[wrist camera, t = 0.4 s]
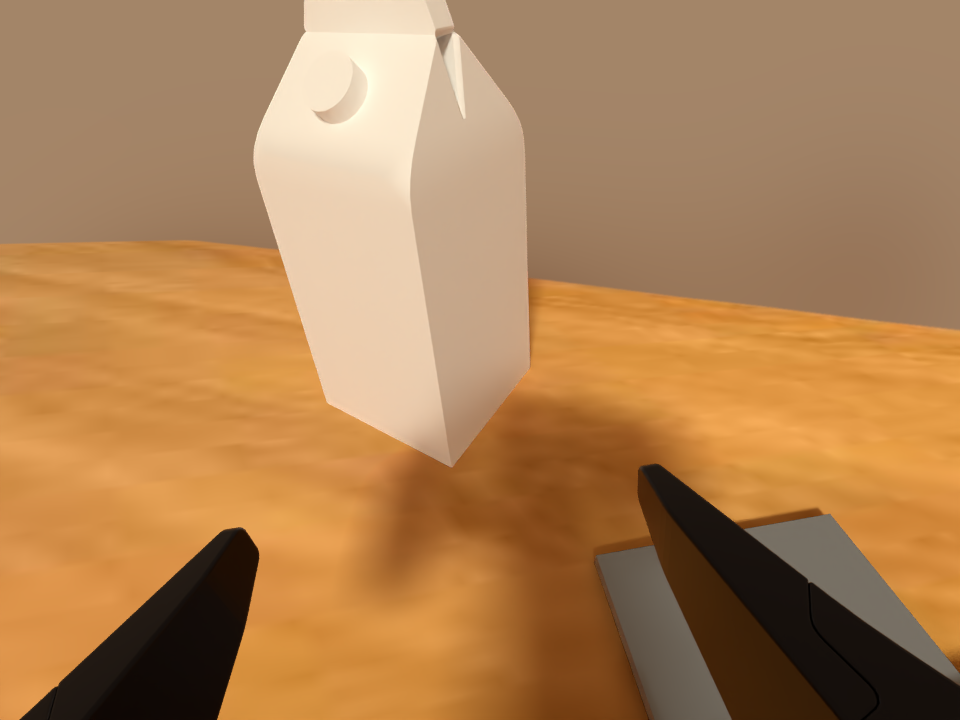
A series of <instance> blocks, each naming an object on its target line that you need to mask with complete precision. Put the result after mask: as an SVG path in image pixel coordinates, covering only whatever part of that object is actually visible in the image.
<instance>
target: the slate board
mask: <svg viewBox="0 0 960 720" xmlns="http://www.w3.org/2000/svg"><path fill="white" fill-rule="evenodd" d="M744 530H745V531H746V532H748V533H749V534H750V535H752V536H753V537H754V538H756V539H757V540H758V541H759V542H761V543H762V544H763V545H765V546H766V547H767V548H769V549H770V550H771V551H772V552H774V553H775V554H776V555H778V556H779V557H780V558H781V559H783V560H784V561H785V562H787V563H788V564H789V565H791V566H792V567H793V568H794V569H796V570H797V571H798V572H800V573H801V574H802V575H804V576H805V577H806V578H807V579H808V582H813V583H814V584H815V585H817V586H818V587H819V588H821V589H822V590H823V591H825V592H826V593H827V594H828V595H830V596H831V597H832V598H834V599H835V600H836V601H838V602H839V603H840V604H842V605H843V606H845V607H846V608H847V609H849V610H850V611H851V612H853V613H854V614H855V615H857V616H858V617H859V618H861V619H862V620H863V621H865V622H866V623H868V624H869V625H871V626H872V627H874V628H875V629H876V630H878V631H879V632H881V633H882V634H884V635H885V636H887V637H888V638H890V639H891V640H892V641H894V642H895V643H897V644H898V645H900V646H901V647H903V648H904V649H906V650H907V651H909V652H910V653H912V654H913V655H915V656H916V657H918V658H919V659H921V660H922V661H924V662H925V663H927V664H928V665H930V666H931V667H933V668H934V669H936V670H937V671H939V672H940V673H942V674H943V675H945V676H946V677H948V678H949V679H951V680H952V681H954V682H955V683H957V684H958V685H960V673H959V672H958V671H957V670H956V668H955V667H954V666H953V665H952V663H951V662H950V661H949V660H948V658H947V657H946V656H945V655H944V654H943V652H942V651H941V650H940V649H939V647H938V646H937V645H936V644H935V642H934V641H933V640H932V639H931V638H930V636H929V635H928V634H927V633H926V631H925V630H924V629H923V628H922V626H921V625H920V624H919V623H918V622H917V620H916V619H915V618H914V617H913V615H912V614H911V613H910V612H909V610H908V609H907V608H906V607H905V606H904V604H903V603H902V602H901V601H900V599H899V598H898V597H897V596H896V594H895V593H894V592H893V591H892V590H891V588H890V587H889V586H888V585H887V583H886V582H885V581H884V580H883V579H882V577H881V576H880V575H879V574H878V572H877V571H876V570H875V569H874V567H873V566H872V565H871V564H870V563H869V561H868V560H867V559H866V558H865V556H864V555H863V554H862V553H861V551H860V550H859V549H858V548H857V547H856V545H855V544H854V543H853V542H852V540H851V539H850V538H849V537H848V535H847V534H846V533H845V532H844V531H843V529H842V528H841V527H840V526H839V524H838V523H837V522H836V521H835V519H834V518H833V517H832V516H831V515H830V514H827V515H821V516H815V517H810V518H804V519H799V520H793V521H787V522H782V523H776V524H770V525H765V526H759V527H753V528H748V529H744ZM594 563H595V566H596V568H597V571H598V574H599V577H600V580H601V583H602V586H603V588H604V591H605V594H606V597H607V600H608V603H609V606H610V609H611V611H612V614H613V617H614V620H615V623H616V626H617V629H618V632H619V634H620V637H621V640H622V643H623V646H624V649H625V652H626V654H627V657H628V660H629V663H630V666H631V669H632V672H633V675H634V677H635V680H636V683H637V686H638V689H639V692H640V695H641V698H642V700H643V703H644V706H645V709H646V712H647V715H648V718H649V720H732V719H731V717H730V715H729V713H728V711H727V708H726V706H725V704H724V702H723V700H722V698H721V696H720V693H719V691H718V689H717V687H716V685H715V683H714V680H713V678H712V676H711V674H710V672H709V670H708V667H707V665H706V663H705V661H704V659H703V657H702V655H701V652H700V650H699V648H698V646H697V644H696V642H695V639H694V637H693V635H692V633H691V631H690V629H689V626H688V624H687V622H686V620H685V618H684V616H683V614H682V611H681V609H680V607H679V605H678V603H677V601H676V598H675V596H674V594H673V592H672V590H671V588H670V585H669V583H668V581H667V579H666V577H665V574H664V572H663V570H662V567H661V564H660V561H659V559H658V556H657V553H656V550H655V547H654V545H652V546H646V547H640V548H635V549H629V550H624V551H618V552H612V553H607V554H601V555H596V557H595V561H594Z"/></svg>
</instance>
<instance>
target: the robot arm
mask: <svg viewBox="0 0 960 720" xmlns="http://www.w3.org/2000/svg"><path fill="white" fill-rule="evenodd" d="M638 498H639V502H640V505H641V508H642V511H643V514H644V517H645V520H646V523H647V526H648V529H649V532H650V535H651V538H652V541H653V544H654V547H655V550H656V553H657V556H658V559H659V561H660V564H661V567H662V570H663V572H664V574H665V577H666V579H667V581H668V583H669V585H670V588H671V590H672V592H673V594H674V596H675V598H676V601H677V603H678V605H679V607H680V609H681V611H682V614H683V616H684V618H685V620H686V622H687V624H688V626H689V629H690V631H691V633H692V635H693V637H694V639H695V642H696V644H697V646H698V648H699V650H700V652H701V655H702V657H703V659H704V661H705V663H706V665H707V667H708V670H709V672H710V674H711V676H712V678H713V680H714V683H715V685H716V687H717V689H718V691H719V693H720V696H721V698H722V700H723V702H724V704H725V706H726V708H727V711H728V713H729V715H730V717H731V719H732V720H960V685H958V684H957V683H955V682H954V681H952V680H951V679H949V678H948V677H946V676H945V675H943V674H942V673H940V672H939V671H937V670H936V669H934V668H933V667H931V666H930V665H928V664H927V663H925V662H924V661H922V660H921V659H919V658H918V657H916V656H915V655H913V654H912V653H910V652H909V651H907V650H906V649H904V648H903V647H901V646H900V645H898V644H897V643H895V642H894V641H892V640H891V639H890V638H888V637H887V636H885V635H884V634H882V633H881V632H879V631H878V630H876V629H875V628H874V627H872V626H871V625H869V624H868V623H866V622H865V621H863V620H862V619H861V618H859V617H858V616H857V615H855V614H854V613H853V612H851V611H850V610H849V609H847V608H846V607H845V606H843V605H842V604H840V603H839V602H838V601H836V600H835V599H834V598H832V597H831V596H830V595H828V594H827V593H826V592H825V591H823V590H822V589H821V588H819V587H818V586H817V585H815V584H814V583H813V582H808V579H807V578H806V577H805V576H804V575H802V574H801V573H800V572H798V571H797V570H796V569H794V568H793V567H792V566H791V565H789V564H788V563H787V562H785V561H784V560H783V559H781V558H780V557H779V556H778V555H776V554H775V553H774V552H772V551H771V550H770V549H769V548H767V547H766V546H765V545H763V544H762V543H761V542H759V541H758V540H757V539H756V538H754V537H753V536H752V535H750V534H749V533H748V532H746V531H745V530H744V529H743V528H741V527H740V526H739V525H737V524H736V523H735V522H733V521H732V520H731V519H730V518H728V517H727V516H726V515H724V514H723V513H722V512H721V511H719V510H718V509H717V508H715V507H714V506H713V505H711V504H710V503H709V502H708V501H706V500H705V499H704V498H702V497H701V496H700V495H698V494H697V493H696V492H695V491H693V490H692V489H691V488H689V487H688V486H687V485H685V484H684V483H683V482H682V481H680V480H679V479H678V478H676V477H675V476H674V475H673V474H671V473H670V472H669V471H667V470H666V469H665V468H663V467H662V466H661V465H659V464H650V465H643V466H640V467H639V470H638ZM258 562H259V551H258V548H257V547H256V545H255V544H254V542H253V541H252V539H251V538H250V536H249V535H248V533H247V532H246V530H245V529H243V528H241V527H238V528H232V529H226V530H223V531H222V532H220V533H219V534H218V535H217V536H216V537H215V538H214V539H213V540H212V541H211V542H209V543H208V544H207V545H206V546H205V547H204V548H203V549H202V550H201V551H200V552H199V553H198V554H197V555H196V556H194V557H193V558H192V559H191V560H190V561H189V562H188V563H187V564H186V565H185V566H184V567H183V568H182V569H181V570H180V571H178V572H177V573H176V574H175V575H174V576H173V577H172V578H171V579H170V580H169V581H168V582H167V583H166V584H165V585H163V586H162V587H161V588H160V589H159V590H158V591H157V592H156V593H155V594H154V595H153V596H152V597H151V598H150V599H149V600H147V601H146V602H145V603H144V604H143V605H142V606H141V607H140V608H139V609H138V610H137V611H136V612H135V613H134V614H132V615H131V616H130V617H129V618H128V619H127V620H126V621H125V622H124V623H123V624H122V625H121V626H120V627H119V628H118V629H116V630H115V631H114V632H113V633H112V634H111V635H110V636H109V637H108V638H107V639H106V640H105V641H104V642H103V643H101V644H100V645H99V646H98V647H97V648H96V649H95V650H94V651H93V652H92V653H91V654H90V655H89V656H88V657H86V658H85V659H84V660H83V661H82V662H81V663H80V664H79V665H78V666H77V667H76V668H75V669H74V670H73V671H72V672H70V673H69V674H68V675H67V676H66V677H65V678H64V679H63V680H62V681H61V682H60V683H59V685H58V686H57V687H54V688H53V689H52V690H51V691H50V692H49V693H48V694H47V695H46V696H45V697H44V698H43V699H41V700H40V701H39V702H38V703H37V704H36V705H35V706H34V707H33V708H32V709H31V710H30V711H29V712H27V713H26V714H25V715H24V716H23V717H22V718H21V719H20V720H217V718H218V715H219V712H220V709H221V705H222V702H223V699H224V695H225V692H226V689H227V686H228V682H229V679H230V676H231V673H232V669H233V666H234V663H235V659H236V656H237V653H238V650H239V646H240V643H241V640H242V636H243V633H244V629H245V625H246V621H247V616H248V611H249V607H250V602H251V597H252V592H253V587H254V582H255V577H256V572H257V567H258Z"/></svg>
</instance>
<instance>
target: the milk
mask: <svg viewBox="0 0 960 720" xmlns="http://www.w3.org/2000/svg"><path fill="white" fill-rule="evenodd" d="M304 28H305V30H306V33H305V34H304V35H303V36H302V37H301V40H300V42H299V44H298V46H297V48H296V50H295V52H294V54H293V57H292V59H291V61H290V63H289V65H288V67H287V69H286V71H285V73H284V76H283V78H282V80H281V82H280V84H279V86H278V89H277V90H276V93H275V95H274V97H273V99H272V101H271V103H270V106H269V108H268V110H267V112H266V114H265V116H264V118H263V121H262V123H261V126H260V129H259V131H258V133H257V138H256V142H255V146H254V167H255V172H256V177H257V181H258V184H259V187H260V190H261V193H262V197H263V200H264V203H265V206H266V209H267V213H268V215H269V219H270V222H271V225H272V228H273V232H274V235H275V238H276V241H277V244H278V248H279V251H280V254H281V257H282V260H283V264H284V267H285V270H286V273H287V276H288V280H289V283H290V286H291V289H292V292H293V296H294V299H295V302H296V305H297V308H298V311H299V315H300V318H301V321H302V324H303V327H304V331H305V334H306V337H307V340H308V343H309V347H310V350H311V353H312V356H313V359H314V363H315V366H316V369H317V372H318V375H319V378H320V382H321V385H322V388H323V391H324V394H325V398H326V401H327V403H328V404H330V405H332V406H334V407H336V408H338V409H340V410H342V411H344V412H346V413H348V414H349V415H351V416H353V417H355V418H357V419H359V420H361V421H363V422H365V423H367V424H369V425H371V426H372V427H374V428H376V429H378V430H380V431H382V432H384V433H386V434H388V435H390V436H392V437H394V438H395V439H397V440H399V441H401V442H403V443H405V444H407V445H409V446H411V447H413V448H415V449H416V450H418V451H420V452H422V453H424V454H426V455H428V456H430V457H432V458H434V459H436V460H438V461H439V462H441V463H443V464H445V465H447V466H449V467H451V468H452V467H453V466H454V464H455V463H456V462H457V461H458V459H459V458H460V457H461V455H462V454H463V453H464V452H465V450H466V449H467V448H468V447H469V445H470V444H471V443H472V441H473V440H474V439H475V438H476V436H477V435H478V434H479V432H480V431H481V430H482V429H483V427H484V426H485V425H486V424H487V422H488V421H489V420H490V418H491V417H492V416H493V415H494V413H495V412H496V411H497V409H498V408H499V407H500V406H501V404H502V403H503V402H504V401H505V399H506V398H507V397H508V395H509V394H510V393H511V392H512V390H513V389H514V388H515V386H516V385H517V384H518V383H519V381H520V380H521V379H522V378H523V376H524V375H525V374H526V372H527V371H528V370H529V369H530V342H529V302H528V266H527V265H528V263H527V226H526V225H527V222H526V185H525V183H526V182H525V146H524V136H523V131H522V127H521V124H520V121H519V119H518V117H517V114H516V112H515V111H514V109H513V107H512V106H511V105H510V103H509V101H508V100H507V98H506V97H505V96H504V94H503V93H502V92H501V90H500V89H499V88H498V86H497V85H496V84H495V82H494V81H493V80H492V78H491V77H490V76H489V74H488V73H487V72H486V70H485V69H484V68H483V66H482V65H481V64H480V62H479V61H478V60H477V58H476V57H475V56H474V54H473V53H472V52H471V50H470V49H469V48H468V46H467V45H466V44H465V42H464V41H463V40H462V38H461V37H460V36H459V35H458V34H457V33H455V32H454V31H453V30H454V24H453V21H452V18H451V15H450V12H449V9H448V7H447V4H446V1H445V0H304Z"/></svg>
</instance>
